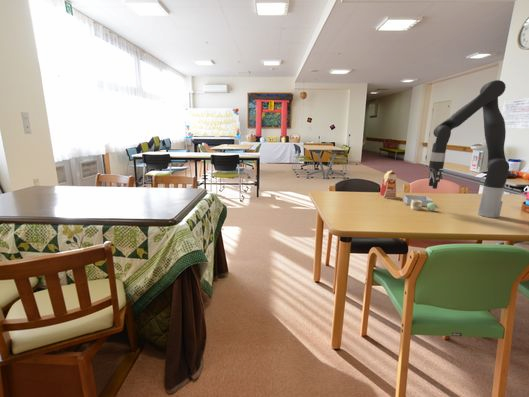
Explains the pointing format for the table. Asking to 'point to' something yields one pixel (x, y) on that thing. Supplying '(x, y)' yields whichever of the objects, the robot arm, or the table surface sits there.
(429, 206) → the ball
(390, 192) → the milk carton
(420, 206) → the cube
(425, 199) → the bin
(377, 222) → the table surface
